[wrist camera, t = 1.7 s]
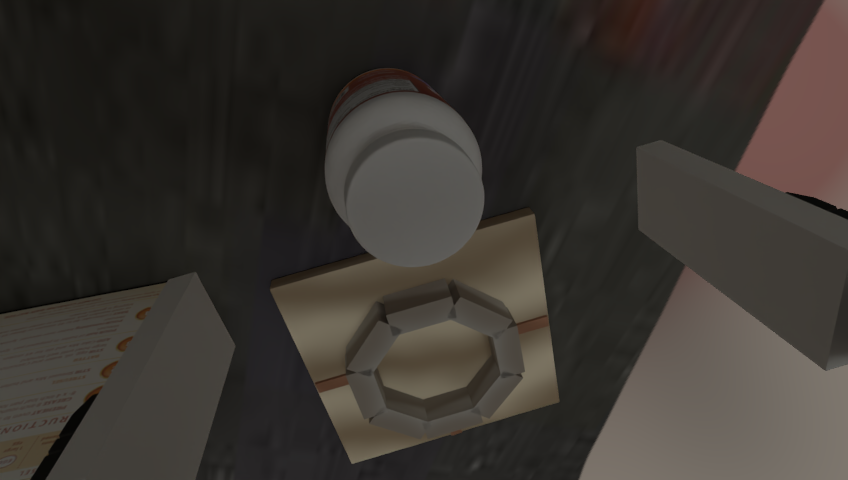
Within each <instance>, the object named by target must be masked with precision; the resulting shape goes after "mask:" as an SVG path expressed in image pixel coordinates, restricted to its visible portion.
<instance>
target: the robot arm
mask: <svg viewBox="0 0 848 480" xmlns="http://www.w3.org/2000/svg"><path fill="white" fill-rule="evenodd" d="M636 152H637V192H638V229H639V230H640V231H641V232H643V233H644V234H645V235H647V236H648V237H649V238H651V239H652V240H653V241H655V242H656V243H657V244H659V245H660V246H661V247H662V248H664V249H665V250H666V251H668V252H669V253H670V254H672V255H673V256H674V257H676V258H677V259H678V260H680V261H681V262H682V263H684V264H685V265H686V266H688V267H689V268H690V269H692V270H693V271H694V272H696V273H697V274H698V275H700V276H701V277H702V278H703V279H705V280H706V281H707V282H709V283H710V284H711V285H713V286H714V287H715V288H717V289H718V290H719V291H721V292H722V293H723V294H725V295H726V296H727V297H729V298H730V299H731V300H733V301H734V302H735V303H737V304H738V305H739V306H741V307H742V308H743V309H744V310H746V311H747V312H749V313H750V314H751V315H752V316H754V317H755V318H756V319H758V320H759V321H760V322H762V323H763V324H764V325H766V326H767V327H768V328H770V329H771V330H772V331H773V332H775V333H776V334H778V335H779V336H780V337H781V338H783V339H784V340H785V341H787V342H788V343H789V344H791V345H792V346H793V347H795V348H796V349H797V350H799V351H800V352H801V353H803V354H804V355H805V356H807V357H808V358H809V359H810V360H812V361H813V362H815V363H816V364H817V365H818V366H820V367H821V368H822V369H824V370H826V371H827V370H830V369H833V368H836V367H840V366H843V365H847V364H848V211H846V210H843V209H837V208H836V206H834V205H831V204H829V203H826V202H824V201H821V200H819V199H817V198H814V197H808V196H804V195H799V194H794V193H789V192H786V193H784V192H781V191H779V190H777V189H774V188H772V187H770V186H767V185H765V184H763V183H761V182H758V181H756V180H754V179H751V178H749V177H746V176H744V175H741V174H739V173H737V172H735V171H732V170H730V169H728V168H725V167H723V166H721V165H718V164H716V163H714V162H711V161H709V160H707V159H704V158H702V157H700V156H697V155H695V154H693V153H690V152H688V151H686V150H683V149H681V148H679V147H676V146H674V145H671V144H669V143H667V142H664V141H662V140H660V141H656V142H653V143H649V144H646V145H642V146H639V147H636ZM234 349H235V344H234V342H233V340H232V338H231V337H230V335H229V333H228V331H227V329H226V327H225V326H224V324H223V322H222V320H221V318H220V316H219V314H218V313H217V311H216V309H215V307H214V305H213V303H212V301H211V300H210V298H209V296H208V294H207V292H206V290H205V289H204V287H203V285H202V283H201V281H200V279H199V277H198V276H197V274H196V272H193V273H189V274H186V275H182V276H179V277H175V278H172V279H169V280H168V281H167V283H166V285H165V286H164V288H163V290H162V291H161V293H160V294H159V296H158V298H157V299H156V301H155V303H154V304H153V306H152V307H151V309H150V311H149V312H148V314H147V316H146V317H145V319H144V320H143V322H142V324H141V325H140V327H139V329H138V330H137V332H136V333H135V335H134V337H133V338H132V340H131V342H130V343H129V345H128V346H127V348H126V350H125V351H124V353H123V355H122V356H121V358H120V359H119V361H118V363H117V364H116V366H115V368H114V369H113V371H112V373H111V374H110V376H109V377H108V379H107V381H106V382H105V384H104V386H103V387H102V389H101V390H100V392H99V393H97V394H94V395H92V396H91V397H90V398H89V399H88V400H87V401H86V402H85V403H84V404H83V405H81V406H80V407H79V408H78V409H77V410H76V411H75V412H74V413H73V414H72V416H71V417H70V419H69V420H68V422H67V423H66V425H65V426H64V428H63V430H62V431H61V433H60V434H59V437H60V438H58V439H56V440H55V442H54V443H53V445H52V447H51V448H50V450H49V451H48V453H49V455H48V456H45V457H44V459H43V460H42V462H41V464H40V465H39V467H38V468H37V470H36V471H35V473H34V474H33V476H32V477H31V479H30V480H195V478H196V475H197V472H198V468H199V465H200V462H201V458H202V455H203V452H204V448H205V445H206V442H207V438H208V435H209V432H210V429H211V425H212V422H213V419H214V415H215V412H216V409H217V405H218V402H219V399H220V395H221V392H222V389H223V385H224V382H225V379H226V375H227V372H228V369H229V365H230V362H231V359H232V356H233V352H234Z"/></svg>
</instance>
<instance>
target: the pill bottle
mask: <svg viewBox="0 0 848 480" xmlns="http://www.w3.org/2000/svg"><path fill="white" fill-rule="evenodd" d="M324 168H325V182H326V187H327V191H328V195H329V198H330V200H331V202H332V204H333V206H334V208H335V210H336V212H337V213H338V214H339V216H340V217H341V218H342V219H343V221H344V222H345V223H346V224H347V225H348V226H349V227H350V229H351V231H352V233H353V235H354V237H355V238H356V239H357V241H358V242H359V243H360V245H361V246H362V247H363V248H364V249H365V250H366V251H367V252H369V253H370V254H371V255H373V256H374V257H376V258H377V259H379V260H381V261H383V262H386V263H389V264H392V265H396V266H401V267H422V266H428V265H431V264H435V263H438V262H440V261H442V260H444V259H446V258H448V257H450V256H451V255H453V254H455V253H456V252H457V251H459V250H460V249H461V248H462V247H463V246H464V245H465V244H466V243H467V242H468V240H469V239H470V238H471V237H472V235H473V234H474V232H475V230H476V229H477V227H478V225H479V222H480V220H481V216H482V213H483V208H484V187H483V184H482V180H481V178H482V160H481V154H480V150H479V146H478V143H477V141H476V139H475V136H474V134H473V133H472V131H471V129H470V128H469V126H468V125H467V124H466V122H465V121H464V119H463V118H462V117H461V116H460V115H459V114H458V113H457V112H456V111H455V110H454V109H453V108H452V107H451V106H450V105H449V104H448V103H447V102H446V101H445V100H444V99H443V98H442V97H441V96H440V95H439V94H438V93H437V92H436V91H435V90H433V89H432V88H431V87H430V86H429V85H428V84H427V83H426V82H425V81H423V80H422V79H421V78H419V77H417V76H416V75H414V74H412V73H410V72H407V71H404V70H400V69H394V68H381V69H375V70H371V71H368V72H365V73H363V74H361V75H359V76H357V77H356V78H354V79H353V80H351V81H350V82H349V83H348V84H347V85H346V86H345V87H344V88H343V89H342V90H341V92H340V93H339V94H338V96H337V98H336V99H335V101H334V103H333V106H332V108H331V112H330V115H329V121H328V130H327V140H326V154H325V167H324Z"/></svg>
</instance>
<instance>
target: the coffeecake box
mask: <svg viewBox="0 0 848 480" xmlns="http://www.w3.org/2000/svg"><path fill="white" fill-rule="evenodd" d="M165 285H166V283H162V284H157V285H151V286H146V287H141V288H136V289H130V290H125V291H120V292H114V293H109V294H104V295H98V296H93V297H88V298H83V299H77V300H72V301H67V302H62V303H57V304H52V305H46V306H40V307H35V308H30V309H25V310H20V311H15V312H10V313H5V314H0V480H30V479H31V477H32V476H33V474H34V473H35V471H36V470H37V468H38V467H39V465H40V464H41V462H42V460H43V459H44V457H45V456H48V455H49V453H48V451H49V450H50V448H51V447H52V445H53V443H54V442H55V440H56V439H58V438H60V437H59V434H60V433H61V431H62V430H63V428H64V426H65V425H66V423H67V422H68V420H69V419H70V417H71V416H72V414H73V413H74V412H75V411H76V410H77V409H78V408H79V407H80V406H81V405H83V404H84V403H85V402H86V401H87V400H88V399H89V398H90V397H91V396H92V395H94V394H97V393H99V392H100V390H101V389H102V387H103V386H104V384H105V382H106V381H107V379H108V377H109V376H110V374H111V373H112V371H113V369H114V368H115V366H116V364H117V363H118V361H119V359H120V358H121V356H122V355H123V353H124V351H125V350H126V348H127V346H128V345H129V343H130V342H131V340H132V338H133V337H134V335H135V333H136V332H137V330H138V329H139V327H140V325H141V324H142V322H143V320H144V319H145V317H146V316H147V314H148V312H149V311H150V309H151V307H152V306H153V304H154V303H155V301H156V299H157V298H158V296H159V294H160V293H161V291H162V290H163V288H164V286H165Z"/></svg>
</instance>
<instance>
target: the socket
mask: <svg viewBox="0 0 848 480" xmlns="http://www.w3.org/2000/svg"><path fill="white" fill-rule="evenodd" d="M270 291H271V293H272V295H273V297H274V299H275V302H276V304H277V306H278V308H279V310H280V312H281V314H282V316H283V318H284V321H285V323H286V325H287V327H288V329H289V331H290V333H291V335H292V338H293V340H294V342H295V344H296V346H297V348H298V350H299V352H300V355H301V357H302V359H303V361H304V363H305V365H306V367H307V369H308V372H309V374H310V376H311V378H312V380H313V382H314V384H315V386H316V389H317V391H318V393H319V395H320V397H321V399H322V401H323V403H324V405H325V408H326V410H327V412H328V414H329V416H330V418H331V420H332V422H333V425H334V427H335V429H336V431H337V433H338V435H339V437H340V439H341V442H342V444H343V446H344V448H345V450H346V452H347V454H348V456H349V459H350V461H351V463H352V464H353V463H357V462H360V461H363V460H367V459H370V458H373V457H377V456H380V455H383V454H387V453H390V452H393V451H397V450H400V449H403V448H407V447H410V446H413V445H417V444H420V443H423V442H427V441H430V440H434V439H437V438H440V437H444V436H447V435H450V434H451V435H455V434H458V433H462V431H464V430H467V429H470V428H474V427H477V426H480V425H484V424H487V423H490V422H494V421H497V420H500V419H504V418H507V417H510V416H514V415H517V414H520V413H524V412H527V411H531V410H534V409H537V408H541V407H544V406H547V405H551V404H554V403H557V402H559V395H558V387H557V380H556V372H555V365H554V357H553V349H552V342H551V334H550V327H549V319H548V312H547V304H546V297H545V289H544V281H543V274H542V266H541V259H540V251H539V244H538V236H537V229H536V221H535V214H534V213H533V212H532V210H531V209H530V208H529V207H528V208H524V209H521V210H517V211H514V212H510V213H507V214H503V215H499V216H496V217H492V218H489V219H485V220H482V221H480V222H479V225H478V227H477V229H476V230H475V232H474V234H473V235H472V237H471V238H470V239H469V240H468V242H467V243H466V244H465V245H464V246H463V247H462V248H461V249H460V250H459V251H457V252H456V253H455V254H453V255H451V256H450V257H448V258H446V259H444V260H442V261H440V262H438V263H435V264H431V265H428V266H422V267H401V266H396V265H392V264H389V263H386V262H383V261H381V260H379V259H377V258H376V257H374V256H373V255H371V254H370V253H366V254H362V255H359V256H355V257H352V258H348V259H345V260H341V261H338V262H334V263H331V264H327V265H324V266H320V267H316V268H313V269H309V270H306V271H302V272H299V273H295V274H292V275H288V276H285V277H281V278H278V279H274V280H272V282H271V286H270Z"/></svg>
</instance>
